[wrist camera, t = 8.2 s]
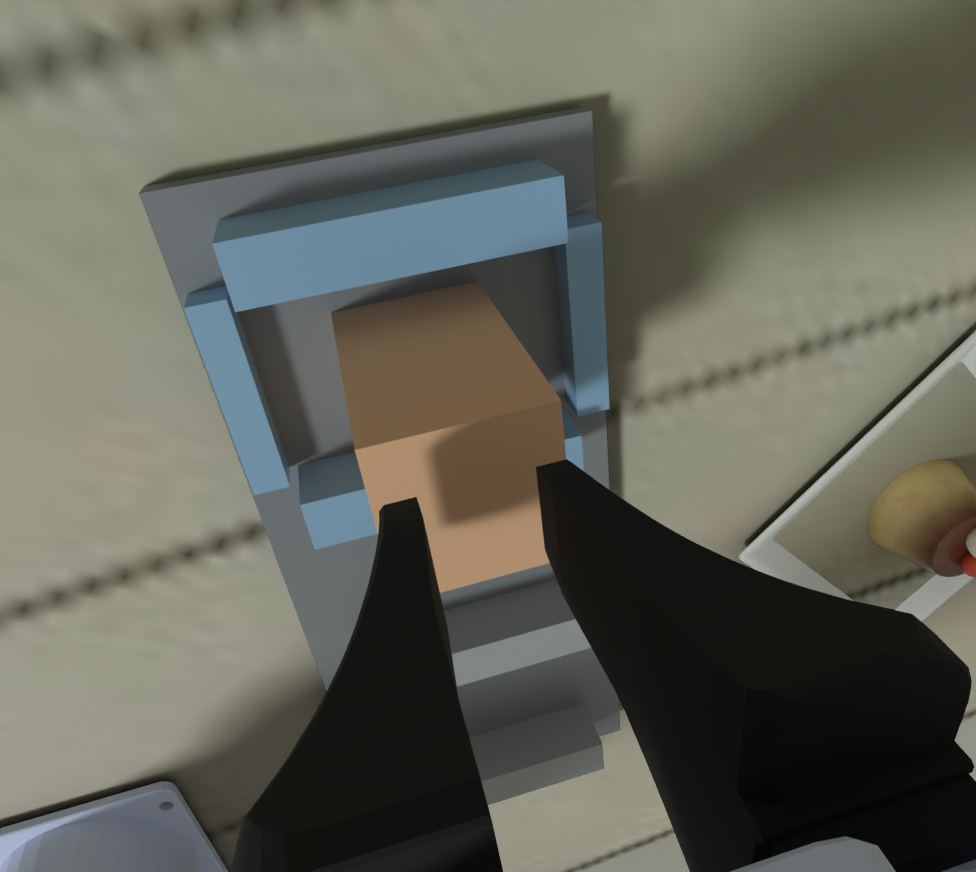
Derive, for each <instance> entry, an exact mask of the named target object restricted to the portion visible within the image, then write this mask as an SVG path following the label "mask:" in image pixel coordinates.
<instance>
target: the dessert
mask: <svg viewBox="0 0 976 872" xmlns="http://www.w3.org/2000/svg"><path fill="white" fill-rule="evenodd" d="M960 362H962V363H964V364H965V365H966V367H967V368H968V369H969V370H970V372H971V373H972V374H973V375H974V377H975V378H976V330H975V331H974V332H973V333H972V334H971V335H970V336H969V337H968V338H967V339H966V340H965V341H964V342H963V343H962V344H961V345H959V346H958V347H957V348H956V349H955V350H954V351H953V352H952V353H951V354H950V355H949V356H948V357H947V358H946V359H945V360H944V361H943V362H942V363H940V364H939V365H938V366H937V367H936V368H935V369H934V370H933V371H932V372H931V373H930V374H929V375H928V376H927V377H926V378H925V379H924V380H923V381H921V382H920V383H919V384H918V385H917V386H916V387H915V388H914V389H913V390H912V391H911V392H910V393H909V394H908V395H907V396H906V397H905V398H904V399H902V400H901V401H900V402H899V403H898V404H897V405H896V406H895V407H894V408H893V409H892V410H891V411H890V412H889V413H888V414H887V415H886V416H885V417H883V418H882V419H881V420H880V421H879V422H878V423H877V424H876V425H875V426H874V427H873V428H872V429H871V430H870V431H869V432H868V433H867V434H866V435H865V436H863V437H862V438H861V439H860V440H859V441H858V442H857V443H856V444H855V445H854V446H853V447H852V448H851V449H850V450H849V451H848V452H847V453H846V454H844V455H843V456H842V457H841V458H840V459H839V460H838V461H837V462H836V463H835V464H834V465H833V466H832V467H831V468H830V469H829V470H828V471H827V472H825V473H824V474H823V475H822V476H821V477H820V478H819V479H818V480H817V481H816V482H815V483H814V484H813V485H812V486H811V487H810V488H809V489H808V490H806V491H805V492H804V493H803V494H802V495H801V496H800V497H799V498H798V499H797V500H796V501H795V502H794V503H793V504H792V505H791V506H790V507H789V508H787V509H786V510H785V511H784V512H783V513H782V514H781V515H780V516H779V517H778V518H777V519H776V520H775V521H774V522H773V523H772V524H771V525H770V526H769V527H767V528H766V529H765V530H764V531H763V532H762V533H761V534H760V535H759V536H758V537H757V538H756V539H755V540H754V541H753V542H752V543H751V544H750V545H748V546H747V547H746V548H745V549H744V550H743V551H742V552H741V553H740V555H739V559H740V560H741V561H743V562H744V563H746V564H747V565H748V566H750V567H751V568H753V569H754V570H757V571H760V572H762V573H765V574H768V575H770V576H773V577H776V578H778V579H781V580H784V581H787V582H790V583H793V584H796V585H799V586H802V587H805V588H809V589H812V590H816V591H819V592H823V593H826V594H830V595H833V596H836V597H840V598H844V599H848V600H851V601H853V600H852V599H851V598H849V597H848V596H847V595H845V594H844V593H843V592H841V591H840V590H839V589H837V588H836V587H835V586H833V585H832V584H831V583H829V582H828V581H827V580H825V579H824V578H823V577H822V576H820V575H819V574H818V573H816V572H815V571H814V570H812V569H811V568H810V567H808V566H807V565H806V564H804V563H803V562H802V561H800V560H799V559H798V558H796V557H795V556H794V555H792V554H791V553H790V552H788V551H787V550H786V549H784V548H783V547H782V546H780V545H779V544H778V543H776V542H775V541H774V539H773V538H774V536H775V535H776V534H777V533H778V532H779V531H780V530H781V529H782V528H784V527H785V526H786V525H787V524H788V523H789V522H790V521H791V520H792V519H793V518H794V517H795V516H796V515H797V514H798V513H799V512H801V511H802V510H803V509H804V508H805V507H806V506H807V505H808V504H809V503H810V502H811V501H812V500H813V499H814V498H815V497H816V496H817V495H819V494H820V493H821V492H822V491H823V490H824V489H825V488H826V487H827V486H828V485H829V484H830V483H831V482H832V481H833V480H834V479H836V478H837V477H838V476H839V475H840V474H841V473H842V472H843V471H844V470H845V469H846V468H847V467H848V466H849V465H850V464H851V463H853V462H854V461H855V460H856V459H857V458H858V457H859V456H860V455H861V454H862V453H863V452H864V451H865V450H866V449H867V448H868V447H870V446H871V445H872V444H873V443H874V442H875V441H876V440H877V439H878V438H879V437H880V436H881V435H882V434H883V433H884V432H885V431H887V430H888V429H889V428H890V427H891V426H892V425H893V424H894V423H895V422H896V421H897V420H898V419H899V418H900V417H901V416H902V415H903V414H905V413H906V412H907V411H908V410H909V409H910V408H911V407H912V406H913V405H914V404H915V403H916V402H917V401H918V400H919V399H920V398H922V397H923V396H924V395H925V394H926V393H927V392H928V391H929V390H930V389H931V388H932V387H933V386H934V385H935V384H936V383H937V382H939V381H940V380H941V379H942V378H943V377H944V376H945V375H946V374H947V373H948V372H949V371H950V370H951V369H952V368H953V367H954V366H956V365H957V364H958V363H960ZM867 532H868V535H869V538H870V539H871V541H872V542H873V543H874V544H875V545H877V546H879V547H881V548H883V549H885V550H888V551H890V552H892V553H894V554H896V555H898V556H900V557H902V558H904V559H906V560H908V561H910V562H912V563H914V564H916V565H918V566H920V567H923V568H925V569H927V570H929V571H931V572H933V573H935V574H936V575H935V576H934V577H932V578H931V579H930V580H929V581H928V582H926V583H925V584H924V585H923V586H922V587H921V588H919V589H918V590H917V591H916V592H915V593H914V594H912V595H911V596H910V597H909V598H908V599H906V600H905V601H904V602H903V603H902V604H901V605H899V606H898V607H897V608H896V609H895V610H897V611H901V612H906V613H910V614H913V615H914V616H915V617H916V618H918V619H919V620H920V621H921V622H922V621H924V620H925V619H926V618H927V617H928V616H929V615H931V614H932V613H933V612H934V611H935V610H937V609H938V608H939V607H940V606H941V605H942V604H944V603H945V602H946V601H947V600H948V599H950V598H951V597H952V596H953V595H954V594H956V593H957V592H958V591H959V590H960V589H961V588H963V587H964V586H965V585H966V584H967V583H969V582H970V581H971V580H972V579H973V578H974V577H976V488H975V487H974V485H973V484H972V483H971V481H970V480H969V479H968V477H967V476H966V475H965V473H964V472H963V470H962V469H961V468H960V467H959V466H958V465H957V464H956V463H954V462H952V461H948V460H932V461H928V462H924V463H921V464H919V465H916V466H914V467H912V468H910V469H909V470H907V471H905V472H904V473H902V474H901V475H899V476H898V477H897V478H896V479H894V480H893V481H892V482H891V483H890V484H889V485H888V486H887V487H886V488H885V489H884V490H883V491H882V493H881V494H880V495H879V496H878V498H877V499H876V501H875V503H874V504H873V506H872V508H871V511H870V513H869V517H868V521H867Z"/></svg>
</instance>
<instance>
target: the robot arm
mask: <svg viewBox="0 0 976 872" xmlns="http://www.w3.org/2000/svg"><path fill="white" fill-rule="evenodd" d="M536 474H537V483H538V492H539V501H540V510H541V519H542V528H543V537H544V546H545V551H546V554H547V557H548V559H549V562H550V564H551V567H552V570H553V572H554V575H555V577H556V580H557V582H558V585H559V587H560V590H561V592H562V595H563V597H564V598H565V600H566V602H567V604H568V606H569V608H570V610H571V611H572V613H573V615H574V617H575V619H576V621H577V622H578V624H579V626H580V628H581V630H582V632H583V633H584V635H585V637H586V639H587V641H588V642H589V644H590V646H591V648H592V650H593V651H594V653H595V655H596V657H597V659H598V661H599V662H600V664H601V666H602V668H603V670H604V671H605V673H606V675H607V677H608V679H609V680H610V682H611V684H612V686H613V688H614V690H615V692H616V694H617V696H618V698H619V700H620V702H621V704H622V706H623V708H624V710H625V712H626V714H627V717H628V719H629V722H630V724H631V726H632V729H633V731H634V733H635V736H636V738H637V740H638V743H639V745H640V747H641V750H642V752H643V755H644V757H645V759H646V762H647V764H648V767H649V769H650V772H651V774H652V777H653V779H654V781H655V784H656V786H657V789H658V791H659V794H660V796H661V799H662V801H663V804H664V806H665V808H666V811H667V814H668V816H669V819H670V821H671V824H672V826H673V829H674V832H675V834H676V837H677V839H678V842H679V844H680V847H681V850H682V852H683V855H684V857H685V860H686V862H687V865H688V868H689V870H690V872H976V781H975V780H973V778H972V777H971V776H970V775H969V774H968V773H971V772H972V771H973V768H974V765H973V762H972V760H971V759H970V758H969V757H968V755H967V754H966V753H965V752H964V751H963V750H962V749H961V748H960V747H959V745H958V744H957V743H956V742H955V741H954V740H955V737H956V735H957V732H958V729H959V726H960V723H961V721H962V718H963V715H964V712H965V709H966V707H967V704H968V700H969V695H970V690H971V682H972V680H971V676H970V672H969V668H968V667H967V666H966V665H965V664H964V662H963V661H962V660H961V659H960V658H959V657H958V656H957V655H956V654H955V653H954V652H953V651H952V650H951V649H950V648H949V647H948V646H947V645H946V644H945V643H944V642H943V641H942V640H941V639H940V638H939V637H938V636H937V635H936V634H935V633H934V632H933V631H931V630H930V629H929V628H928V627H927V626H926V625H925V624H923V623H922V622H921V621H920V620H919V619H918V618H916V617H915V616H914V615H913V614H910V613H906V612H901V611H897V610H892V609H888V608H883V607H879V606H874V605H870V604H865V603H861V602H856V601H851V600H848V599H844V598H840V597H836V596H833V595H830V594H826V593H823V592H819V591H816V590H812V589H809V588H805V587H802V586H799V585H796V584H793V583H790V582H787V581H784V580H781V579H778V578H776V577H773V576H770V575H768V574H765V573H762V572H760V571H757V570H754V569H752V568H749V567H747V566H744V565H742V564H740V563H737V562H735V561H732V560H730V559H728V558H726V557H724V556H721V555H719V554H717V553H715V552H713V551H711V550H709V549H707V548H704V547H702V546H700V545H698V544H696V543H694V542H692V541H690V540H688V539H687V538H685V537H683V536H681V535H679V534H678V533H676V532H674V531H672V530H671V529H669V528H667V527H665V526H663V525H662V524H660V523H659V522H657V521H655V520H654V519H652V518H650V517H649V516H647V515H646V514H644V513H643V512H641V511H640V510H638V509H637V508H635V507H634V506H632V505H631V504H629V503H628V502H626V501H624V500H623V499H622V498H620V497H619V496H617V495H616V494H614V493H613V492H612V491H610V490H609V489H607V488H606V487H605V486H603V485H602V484H600V483H599V482H598V481H596V480H595V479H594V478H592V477H591V476H590V475H588V474H587V473H586V472H584V471H583V470H582V469H580V468H579V467H577V466H576V465H575V464H573V463H572V462H570V461H569V460H567V459H565V460H561V461H557V462H553V463H549V464H545V465H541V466H537V467H536ZM0 872H228V870H227V868H226V867H225V865H224V863H223V862H222V860H221V859H220V857H219V855H218V854H217V852H216V850H215V849H214V847H213V846H212V844H211V842H210V841H209V839H208V837H207V836H206V834H205V833H204V831H203V829H202V828H201V826H200V824H199V823H198V821H197V819H196V818H195V816H194V815H193V813H192V811H191V810H190V808H189V806H188V805H187V803H186V802H185V800H184V798H183V797H182V795H181V793H180V792H179V790H178V788H177V787H176V786H175V785H174V784H173V783H171V782H167V781H162V782H157V783H153V784H150V785H147V786H143V787H140V788H136V789H133V790H129V791H126V792H123V793H119V794H116V795H112V796H109V797H105V798H102V799H99V800H95V801H92V802H88V803H85V804H81V805H78V806H75V807H71V808H68V809H64V810H61V811H57V812H54V813H51V814H47V815H44V816H40V817H37V818H33V819H30V820H27V821H23V822H20V823H16V824H13V825H9V826H6V827H2V828H0ZM231 872H503V869H502V865H501V860H500V856H499V851H498V847H497V842H496V838H495V833H494V829H493V824H492V820H491V816H490V812H489V808H488V805H487V801H486V797H485V793H484V789H483V785H482V782H481V778H480V774H479V771H478V767H477V764H476V760H475V757H474V753H473V749H472V746H471V742H470V739H469V735H468V731H467V728H466V724H465V721H464V717H463V713H462V710H461V706H460V702H459V697H458V691H457V685H456V678H455V672H454V665H453V659H452V653H451V646H450V640H449V633H448V627H447V623H446V618H445V614H444V609H443V605H442V600H441V596H440V591H439V587H438V582H437V578H436V573H435V569H434V564H433V560H432V555H431V551H430V546H429V542H428V537H427V533H426V528H425V524H424V519H423V516H422V513H421V509H420V506H419V503H418V500H417V497H414V498H410V499H406V500H402V501H398V502H394V503H390V504H386V505H383V507H382V508H381V509H380V511H379V532H378V540H377V546H376V552H375V558H374V562H373V566H372V571H371V575H370V579H369V584H368V587H367V591H366V594H365V597H364V600H363V604H362V607H361V610H360V613H359V616H358V619H357V623H356V625H355V628H354V631H353V633H352V636H351V639H350V641H349V644H348V646H347V649H346V651H345V653H344V656H343V658H342V660H341V663H340V665H339V667H338V669H337V671H336V674H335V676H334V678H333V680H332V682H331V684H330V686H329V688H328V690H327V692H326V694H325V696H324V698H323V700H322V702H321V703H320V705H319V707H318V709H317V711H316V713H315V714H314V716H313V718H312V719H311V721H310V723H309V724H308V726H307V728H306V729H305V731H304V733H303V734H302V736H301V737H300V739H299V741H298V742H297V744H296V746H295V747H294V749H293V750H292V752H291V754H290V755H289V757H288V758H287V760H286V761H285V763H284V764H283V766H282V767H281V769H280V770H279V772H278V773H277V774H276V776H275V777H274V778H273V780H272V781H271V783H270V784H269V785H268V787H267V788H266V789H265V791H264V792H263V793H262V795H261V796H260V798H259V799H258V800H257V802H256V803H255V804H254V806H253V807H252V808H251V810H250V811H249V812H248V814H247V815H246V816H245V818H244V819H243V823H242V827H241V830H240V834H239V838H238V842H237V846H236V851H235V855H234V860H233V865H232V871H231Z"/></svg>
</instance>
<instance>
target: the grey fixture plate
mask: <svg viewBox="0 0 976 872" xmlns="http://www.w3.org/2000/svg"><path fill="white" fill-rule="evenodd" d="M139 195H140V198H141V200H142V203H143V205H144V208H145V211H146V213H147V216H148V219H149V221H150V224H151V227H152V229H153V232H154V235H155V237H156V240H157V243H158V245H159V248H160V251H161V253H162V256H163V259H164V261H165V264H166V267H167V269H168V272H169V275H170V277H171V280H172V282H173V285H174V288H175V290H176V293H177V296H178V298H179V301H180V304H181V306H182V309H183V312H184V314H185V317H186V320H187V322H188V325H189V328H190V330H191V333H192V336H193V338H194V341H195V344H196V346H197V349H198V352H199V354H200V357H201V360H202V362H203V365H204V367H205V370H206V373H207V375H208V378H209V381H210V383H211V386H212V389H213V391H214V394H215V397H216V399H217V402H218V405H219V407H220V410H221V413H222V415H223V418H224V421H225V423H226V426H227V429H228V431H229V434H230V437H231V439H232V442H233V444H234V447H235V450H236V452H237V455H238V458H239V460H240V463H241V466H242V468H243V471H244V474H245V476H246V479H247V482H248V484H249V487H250V490H251V492H252V495H253V498H254V500H255V503H256V506H257V508H258V511H259V514H260V516H261V519H262V522H263V524H264V527H265V529H266V532H267V535H268V537H269V540H270V543H271V545H272V548H273V551H274V553H275V556H276V559H277V561H278V564H279V567H280V569H281V572H282V575H283V577H284V580H285V583H286V585H287V588H288V591H289V593H290V596H291V599H292V601H293V604H294V607H295V609H296V612H297V614H298V617H299V620H300V622H301V625H302V628H303V630H304V633H305V636H306V638H307V641H308V644H309V646H310V649H311V652H312V654H313V657H314V660H315V662H316V665H317V668H318V670H319V673H320V676H321V678H322V681H323V684H324V686H325V689H326V691H327V690H328V688H329V686H330V684H331V682H332V680H333V678H334V676H335V674H336V671H337V669H338V667H339V665H340V663H341V660H342V658H343V656H344V653H345V651H346V649H347V646H348V644H349V641H350V639H351V636H352V633H353V631H354V628H355V625H356V623H357V619H358V616H359V613H360V610H361V607H362V604H363V600H364V597H365V594H366V591H367V587H368V584H369V579H370V575H371V571H372V566H373V562H374V558H375V552H376V546H377V540H378V534H377V530H376V527H375V523H374V519H373V516H372V512H371V508H370V505H369V501H368V497H367V494H366V490H365V486H364V483H363V479H362V475H361V472H360V468H359V464H358V461H357V457H356V453H355V449H354V444H353V438H352V432H351V426H350V421H349V415H348V409H347V403H346V398H345V392H344V386H343V380H342V375H341V369H340V363H339V357H338V352H337V346H336V340H335V334H334V329H333V323H332V317H331V312H336V311H341V310H345V309H350V308H355V307H359V306H364V305H369V304H373V303H378V302H383V301H387V300H392V299H397V298H401V297H406V296H411V295H415V294H420V293H425V292H429V291H434V290H439V289H443V288H448V287H453V286H457V285H462V284H467V283H471V282H476V281H478V283H479V284H480V286H481V287H482V289H483V290H484V291H485V293H486V294H487V296H488V297H489V298H490V300H491V301H492V303H493V304H494V306H495V307H496V308H497V310H498V311H499V313H500V314H501V316H502V317H503V318H504V320H505V321H506V323H507V324H508V325H509V327H510V328H511V330H512V331H513V333H514V334H515V335H516V337H517V338H518V340H519V341H520V343H521V344H522V345H523V347H524V348H525V350H526V351H527V352H528V354H529V355H530V357H531V358H532V360H533V361H534V362H535V364H536V365H537V367H538V368H539V370H540V371H541V372H542V374H543V375H544V377H545V378H546V380H547V381H548V382H549V384H550V385H551V387H552V388H553V389H554V391H555V392H556V394H557V395H558V397H559V398H560V399H561V404H562V416H563V428H564V439H565V451H566V459H567V460H569V461H570V462H572V463H573V464H575V465H576V466H577V467H579V468H580V469H582V470H583V471H584V472H586V473H587V474H588V475H590V476H591V477H592V478H594V479H595V480H596V481H598V482H599V483H600V484H602V485H603V486H605V487H606V488H607V489H609V472H608V450H607V428H606V410H607V409H610V408H609V384H608V360H607V336H606V313H605V289H604V265H603V241H602V222H601V221H599V220H598V219H597V206H596V184H595V162H594V140H593V118H592V111H591V110H589V109H586V108H583V107H577V108H571V109H566V110H560V111H555V112H549V113H544V114H538V115H533V116H527V117H522V118H516V119H511V120H505V121H500V122H494V123H489V124H483V125H478V126H472V127H467V128H461V129H456V130H450V131H445V132H439V133H434V134H428V135H423V136H417V137H412V138H406V139H401V140H395V141H390V142H384V143H379V144H373V145H367V146H362V147H356V148H351V149H345V150H340V151H334V152H329V153H323V154H318V155H312V156H307V157H301V158H296V159H290V160H285V161H279V162H274V163H268V164H263V165H257V166H252V167H246V168H241V169H235V170H230V171H224V172H219V173H213V174H208V175H202V176H197V177H191V178H186V179H180V180H175V181H169V182H164V183H158V184H153V185H147V186H144V187H143V189H142V190H141V191H140V193H139ZM440 596H441V600H442V605H443V609H444V614H445V618H446V623H447V627H448V633H449V640H450V646H451V653H452V659H453V665H454V672H455V678H456V685H457V691H458V697H459V702H460V706H461V710H462V713H463V717H464V721H465V724H466V728H467V731H468V735H469V739H470V742H471V746H472V749H473V753H474V757H475V760H476V764H477V767H478V771H479V774H480V778H481V782H482V785H483V789H484V793H485V797H486V801H487V805H489V804H492V803H496V802H499V801H502V800H505V799H508V798H511V797H515V796H518V795H521V794H524V793H527V792H531V791H534V790H537V789H540V788H543V787H546V786H550V785H553V784H556V783H559V782H562V781H565V780H569V779H572V778H575V777H578V776H581V775H585V774H588V773H591V772H594V771H597V770H600V769H604V762H603V747H602V742H601V740H600V738H599V736H602V735H605V734H608V733H612V732H615V731H618V730H620V715H619V698H618V696H617V694H616V692H615V690H614V688H613V686H612V684H611V682H610V680H609V679H608V677H607V675H606V673H605V671H604V670H603V668H602V666H601V664H600V662H599V661H598V659H597V657H596V655H595V653H594V651H593V650H592V648H591V646H590V644H589V642H588V641H587V639H586V637H585V635H584V633H583V632H582V630H581V628H580V626H579V624H578V622H577V621H576V619H575V617H574V615H573V613H572V611H571V610H570V608H569V606H568V604H567V602H566V600H565V598H564V597H563V595H562V592H561V590H560V587H559V585H558V582H557V580H556V577H555V575H554V572H553V570H552V567H551V564H550V563H548V564H544V565H541V566H537V567H533V568H529V569H526V570H522V571H518V572H515V573H511V574H507V575H504V576H500V577H496V578H493V579H489V580H485V581H482V582H478V583H474V584H471V585H467V586H463V587H460V588H456V589H452V590H449V591H445V592H441V593H440Z"/></svg>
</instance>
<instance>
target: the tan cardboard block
mask: <svg viewBox="0 0 976 872" xmlns="http://www.w3.org/2000/svg"><path fill="white" fill-rule="evenodd" d="M331 317H332V323H333V329H334V334H335V340H336V346H337V352H338V357H339V363H340V369H341V375H342V380H343V386H344V392H345V398H346V403H347V409H348V415H349V421H350V426H351V432H352V438H353V444H354V449H355V453H356V457H357V461H358V464H359V468H360V472H361V475H362V479H363V483H364V486H365V490H366V494H367V497H368V501H369V505H370V508H371V512H372V516H373V519H374V523H375V527H376V530H377V534H378V532H379V511H380V509H381V508H382V507H383V505H386V504H390V503H394V502H398V501H402V500H406V499H410V498H414V497H417V500H418V503H419V506H420V509H421V513H422V516H423V519H424V524H425V528H426V533H427V537H428V542H429V546H430V551H431V555H432V560H433V564H434V569H435V573H436V578H437V582H438V587H439V591H440V593H441V592H445V591H449V590H452V589H456V588H460V587H463V586H467V585H471V584H474V583H478V582H482V581H485V580H489V579H493V578H496V577H500V576H504V575H507V574H511V573H515V572H518V571H522V570H526V569H529V568H533V567H537V566H541V565H544V564H548V563H550V562H549V559H548V557H547V554H546V551H545V546H544V537H543V528H542V519H541V510H540V501H539V492H538V483H537V474H536V467H537V466H541V465H545V464H549V463H553V462H557V461H561V460H565V459H566V451H565V439H564V428H563V416H562V404H561V399H560V398H559V397H558V395H557V394H556V392H555V391H554V389H553V388H552V387H551V385H550V384H549V382H548V381H547V380H546V378H545V377H544V375H543V374H542V372H541V371H540V370H539V368H538V367H537V365H536V364H535V362H534V361H533V360H532V358H531V357H530V355H529V354H528V352H527V351H526V350H525V348H524V347H523V345H522V344H521V343H520V341H519V340H518V338H517V337H516V335H515V334H514V333H513V331H512V330H511V328H510V327H509V325H508V324H507V323H506V321H505V320H504V318H503V317H502V316H501V314H500V313H499V311H498V310H497V308H496V307H495V306H494V304H493V303H492V301H491V300H490V298H489V297H488V296H487V294H486V293H485V291H484V290H483V289H482V287H481V286H480V284H479V283H478V281H476V282H471V283H467V284H462V285H457V286H453V287H448V288H443V289H439V290H434V291H429V292H425V293H420V294H415V295H411V296H406V297H401V298H397V299H392V300H387V301H383V302H378V303H373V304H369V305H364V306H359V307H355V308H350V309H345V310H341V311H336V312H331Z"/></svg>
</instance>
